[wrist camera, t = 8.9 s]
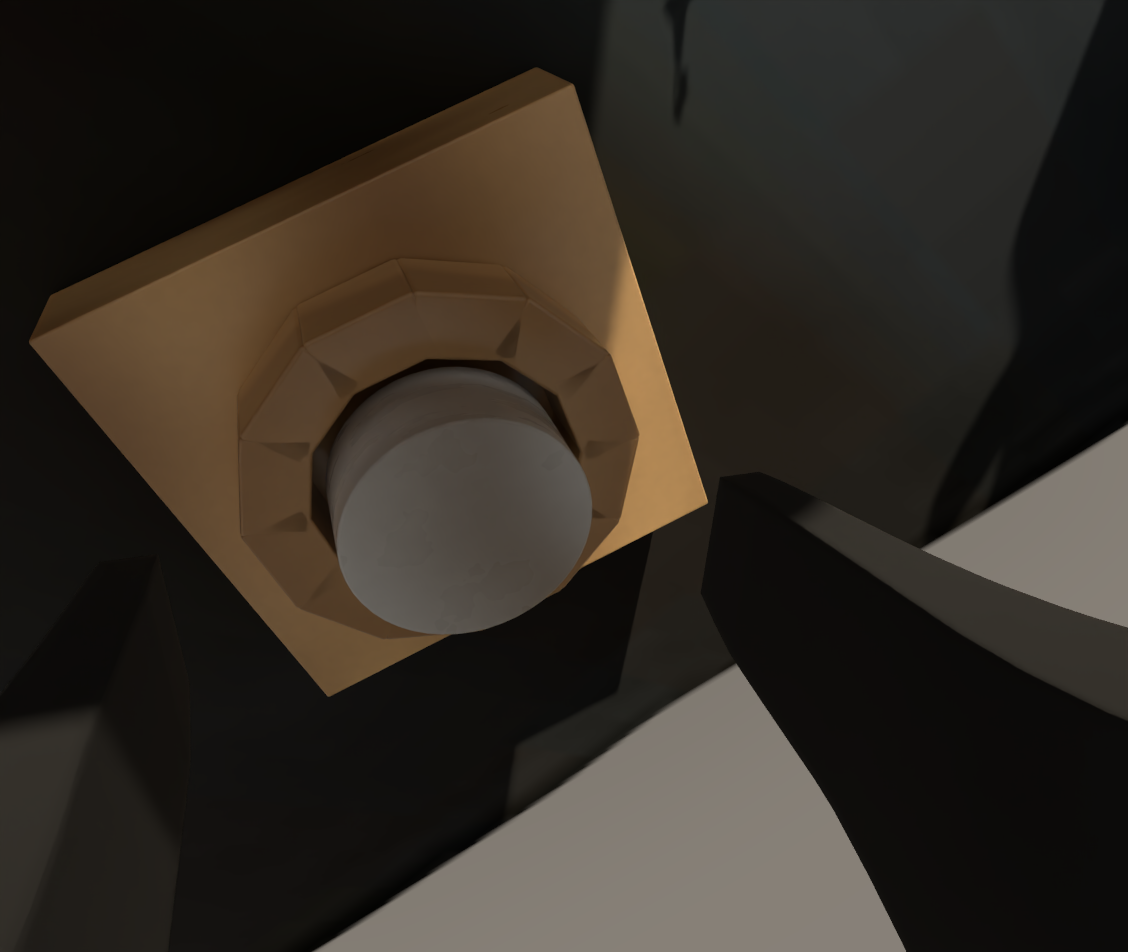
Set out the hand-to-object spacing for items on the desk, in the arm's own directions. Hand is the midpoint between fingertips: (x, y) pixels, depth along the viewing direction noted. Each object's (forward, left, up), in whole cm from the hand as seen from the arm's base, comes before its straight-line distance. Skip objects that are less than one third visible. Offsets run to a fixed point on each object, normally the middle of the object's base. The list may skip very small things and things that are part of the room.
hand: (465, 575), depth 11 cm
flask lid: (0, -2, -5) cm, 5 cm away
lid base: (0, -2, -9) cm, 9 cm away
